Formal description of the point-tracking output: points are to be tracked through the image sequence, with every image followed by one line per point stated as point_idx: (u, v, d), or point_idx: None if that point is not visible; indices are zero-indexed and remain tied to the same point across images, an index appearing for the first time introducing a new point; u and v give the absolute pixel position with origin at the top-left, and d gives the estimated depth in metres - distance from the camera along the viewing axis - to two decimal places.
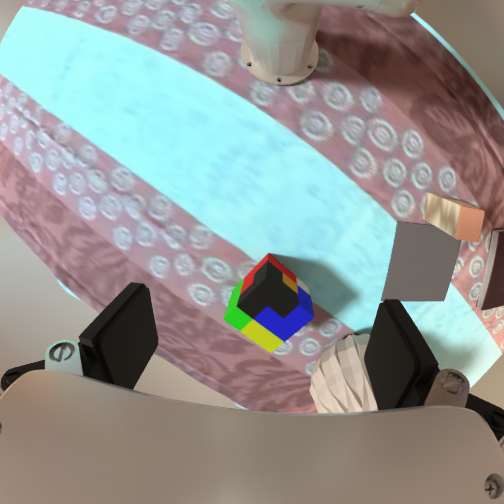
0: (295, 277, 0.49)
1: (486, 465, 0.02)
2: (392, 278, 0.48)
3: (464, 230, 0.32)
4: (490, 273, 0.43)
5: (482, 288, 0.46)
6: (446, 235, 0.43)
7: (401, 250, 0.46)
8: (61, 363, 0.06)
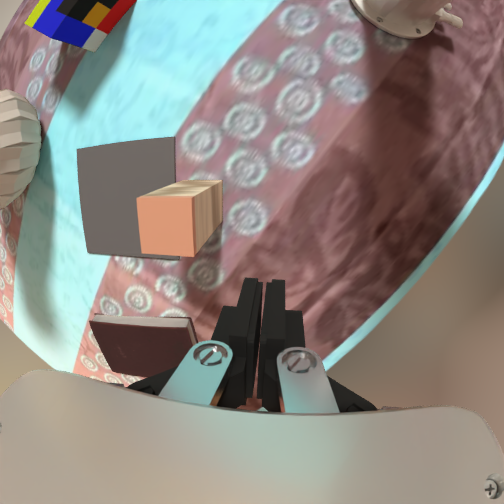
0: (105, 31, 0.25)
1: (486, 465, 0.02)
2: (102, 153, 0.32)
3: (152, 211, 0.22)
4: (132, 324, 0.40)
5: (114, 317, 0.42)
6: None
7: (136, 153, 0.32)
8: (201, 367, 0.07)
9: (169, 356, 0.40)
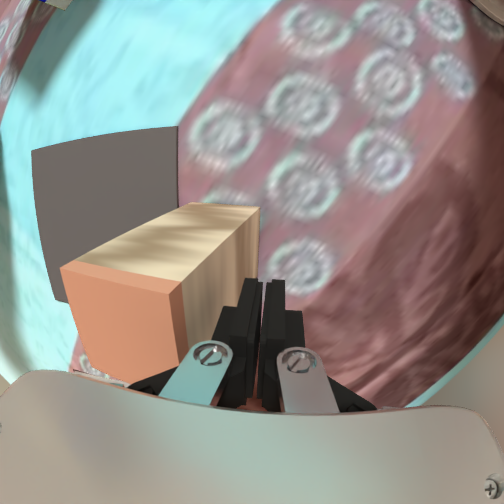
0: None
1: (486, 465, 0.02)
2: (63, 155, 0.19)
3: (91, 303, 0.09)
4: None
5: (98, 379, 0.28)
6: None
7: (113, 156, 0.18)
8: (201, 366, 0.07)
9: None
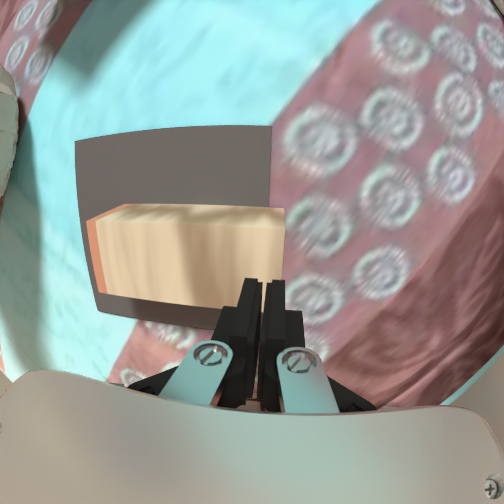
0: None
1: (486, 465, 0.02)
2: (121, 148, 0.18)
3: None
4: None
5: None
6: None
7: (192, 152, 0.18)
8: (201, 367, 0.07)
9: None
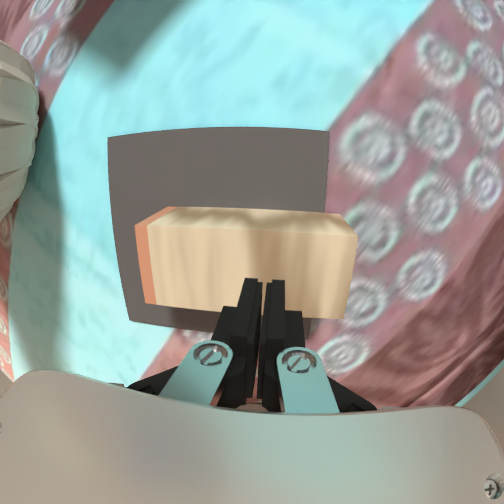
0: None
1: (486, 465, 0.02)
2: (165, 146, 0.18)
3: None
4: None
5: None
6: None
7: (246, 153, 0.17)
8: (201, 367, 0.07)
9: None
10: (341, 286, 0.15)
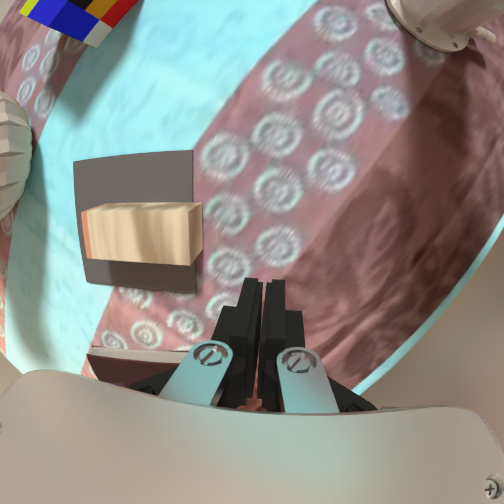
0: (110, 24, 0.21)
1: (486, 465, 0.02)
2: (103, 167, 0.28)
3: None
4: (135, 359, 0.34)
5: (115, 350, 0.36)
6: None
7: (145, 169, 0.27)
8: (201, 367, 0.07)
9: None
10: (183, 243, 0.24)
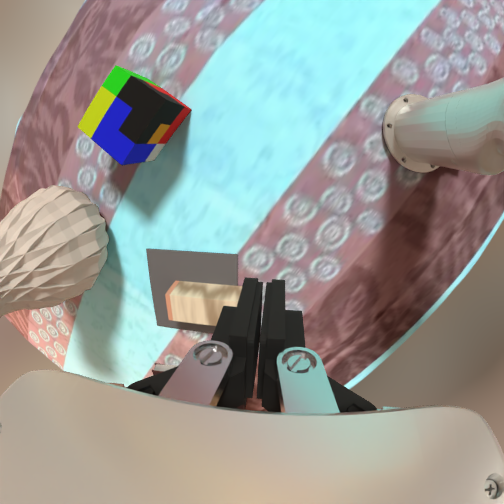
0: (164, 142, 0.38)
1: (486, 465, 0.02)
2: (173, 257, 0.46)
3: None
4: None
5: (174, 366, 0.55)
6: None
7: (205, 263, 0.45)
8: (201, 366, 0.07)
9: None
10: None
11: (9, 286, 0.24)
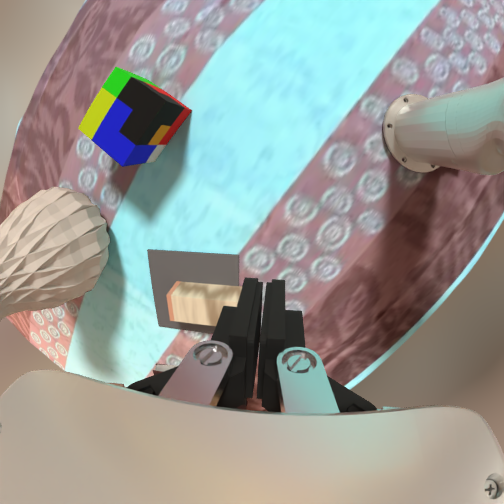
0: (165, 143, 0.38)
1: (486, 465, 0.02)
2: (174, 258, 0.46)
3: None
4: None
5: None
6: None
7: (206, 263, 0.45)
8: (201, 367, 0.07)
9: None
10: None
11: (11, 288, 0.24)
